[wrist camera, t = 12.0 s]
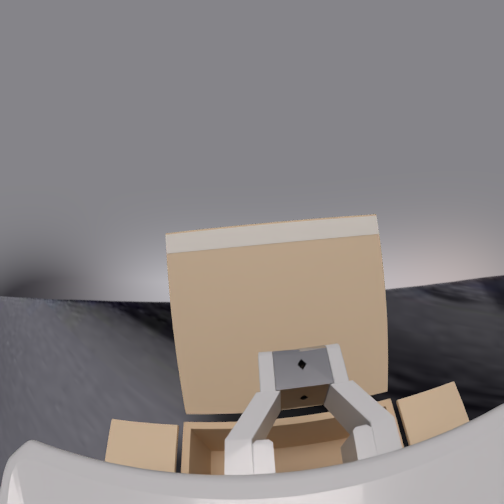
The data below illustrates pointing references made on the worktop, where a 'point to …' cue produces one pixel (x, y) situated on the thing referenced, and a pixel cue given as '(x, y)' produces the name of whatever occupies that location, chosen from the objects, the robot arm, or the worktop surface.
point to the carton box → (276, 436)
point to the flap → (274, 303)
